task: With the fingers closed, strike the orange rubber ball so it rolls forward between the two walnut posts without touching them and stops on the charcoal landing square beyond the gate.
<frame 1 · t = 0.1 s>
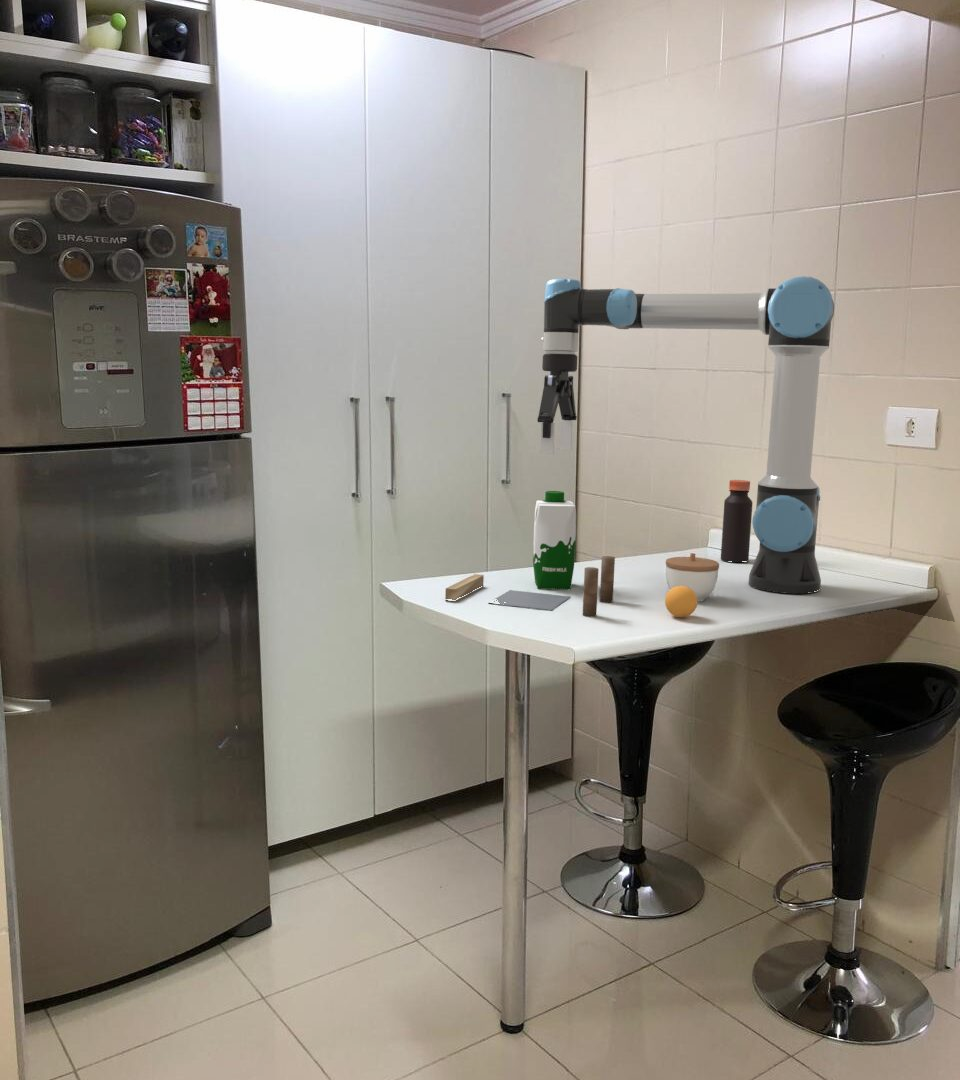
hand: (556, 451, 223), 28 cm above the table, tool pointing down, fingers open, 13 cm apart
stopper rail: (464, 593, 209), on the table
ball: (681, 601, 193), on the table
post 1: (589, 615, 193), on the table
lidded jar: (690, 599, 210), on the table
bottle: (734, 561, 253), on the table
post 2: (606, 601, 205), on the table
milk carton: (552, 586, 218), on the table
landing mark: (529, 600, 204), on the table
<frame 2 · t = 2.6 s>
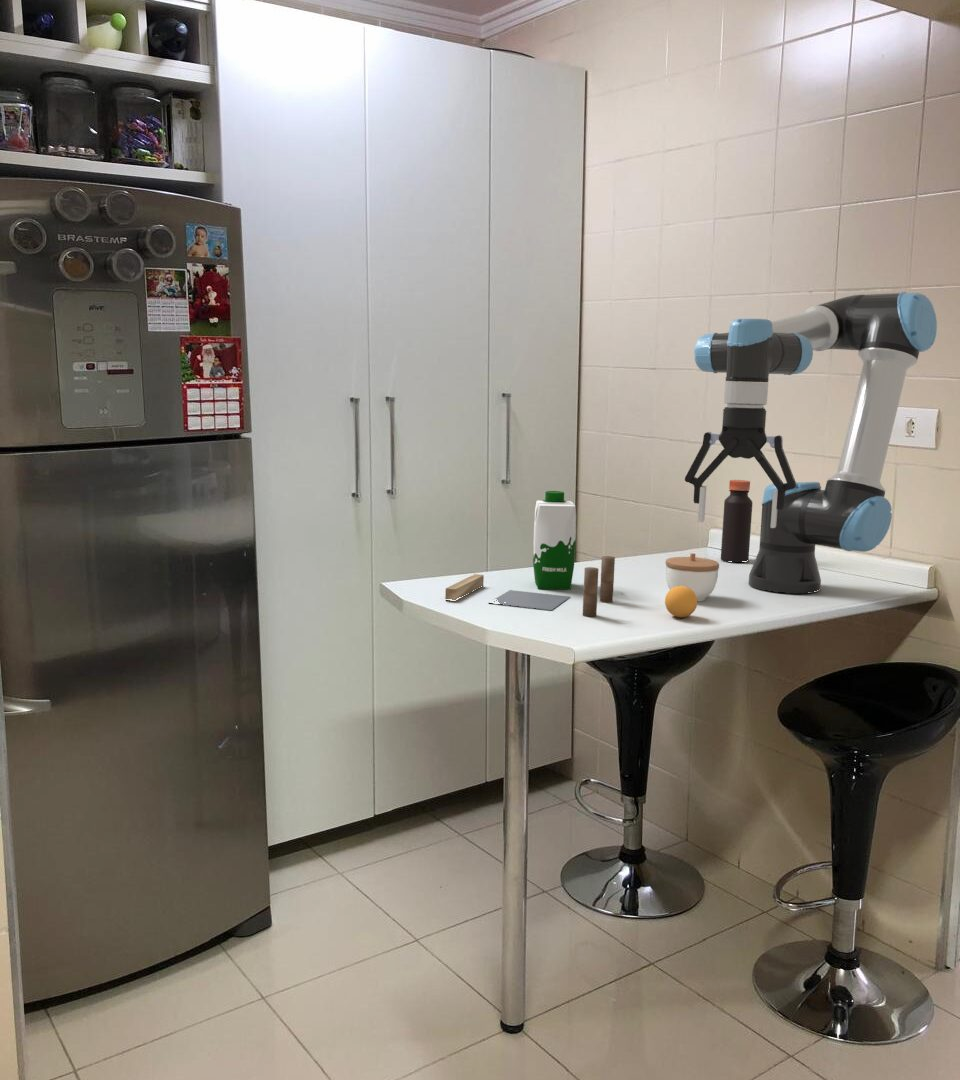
hand: (736, 524, 187), 19 cm above the table, tool pointing down, fingers open, 12 cm apart
nothing on the table moved.
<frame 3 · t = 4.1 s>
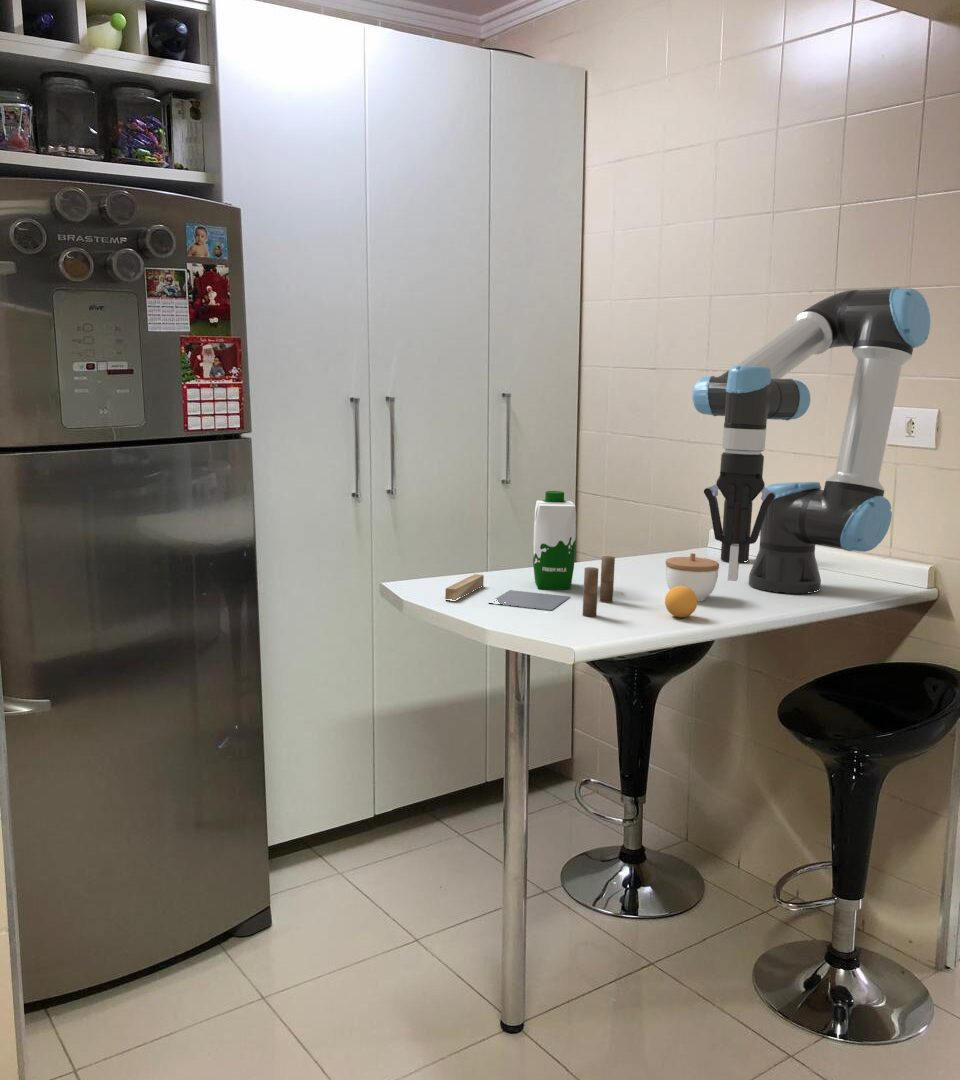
hand: (732, 579, 188), 8 cm above the table, tool pointing down, fingers closed
nothing on the table moved.
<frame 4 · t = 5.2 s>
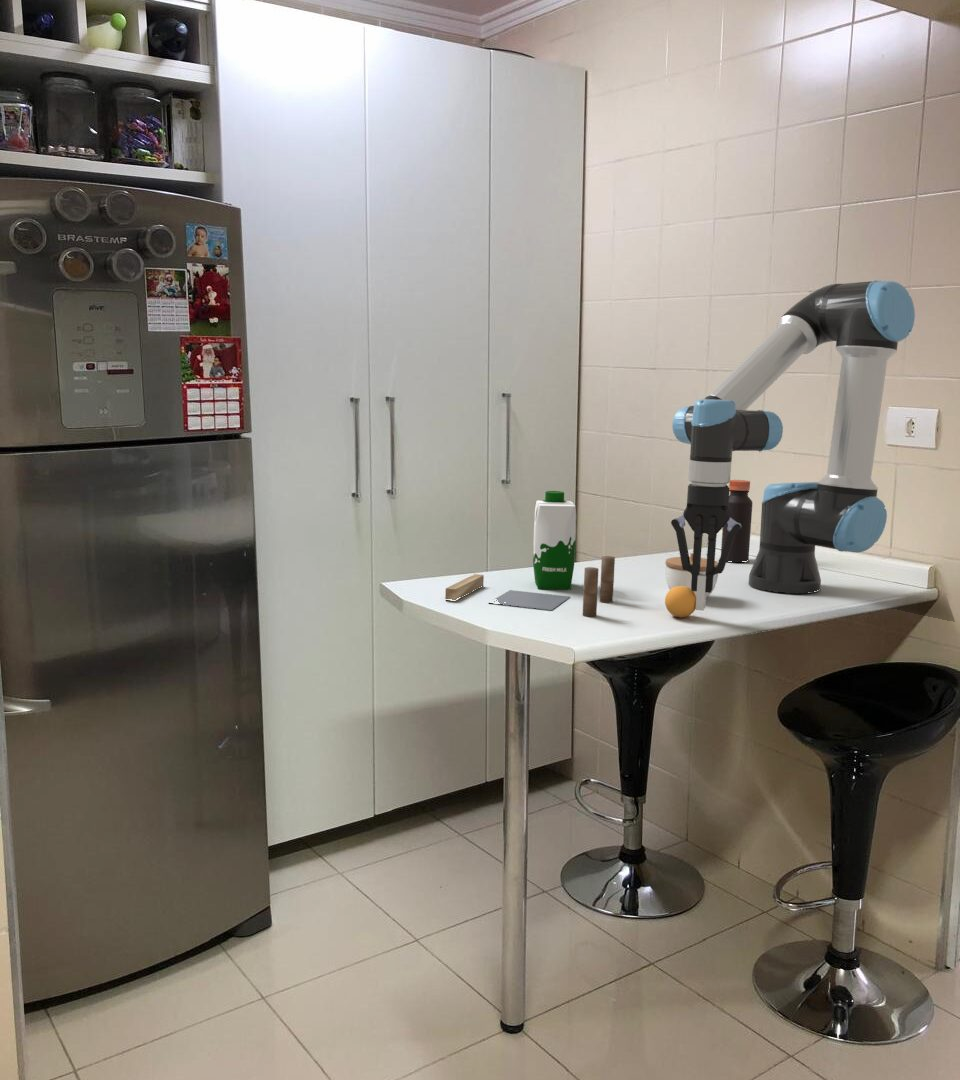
hand: (700, 608, 191), 2 cm above the table, tool pointing down, fingers closed
ball: (681, 601, 193), on the table, touching gripper
everything else where it was.
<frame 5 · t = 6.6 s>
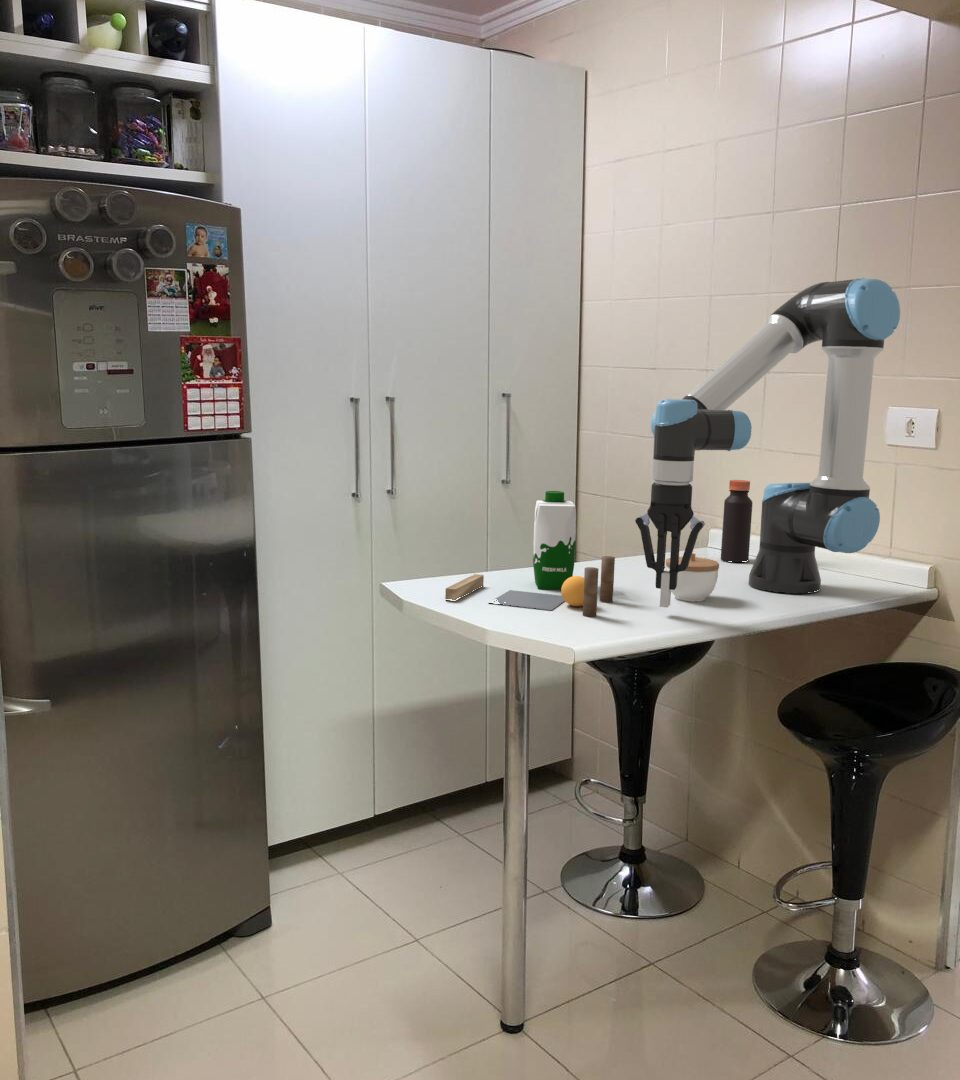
hand: (665, 605, 194), 2 cm above the table, tool pointing down, fingers closed
ball: (576, 591, 199), on the table
everything else where it was.
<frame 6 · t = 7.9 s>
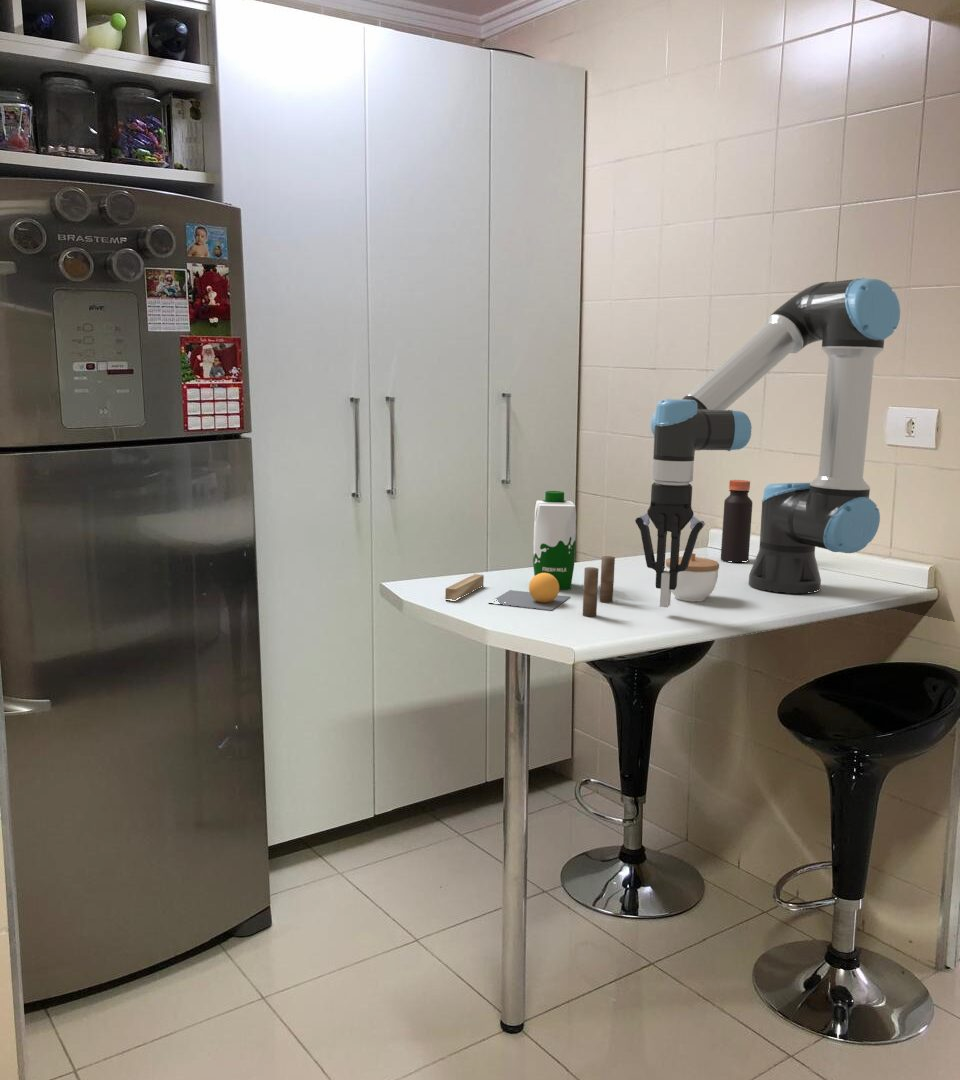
hand: (665, 605, 194), 2 cm above the table, tool pointing down, fingers closed
ball: (544, 587, 202), on the table
everything else where it was.
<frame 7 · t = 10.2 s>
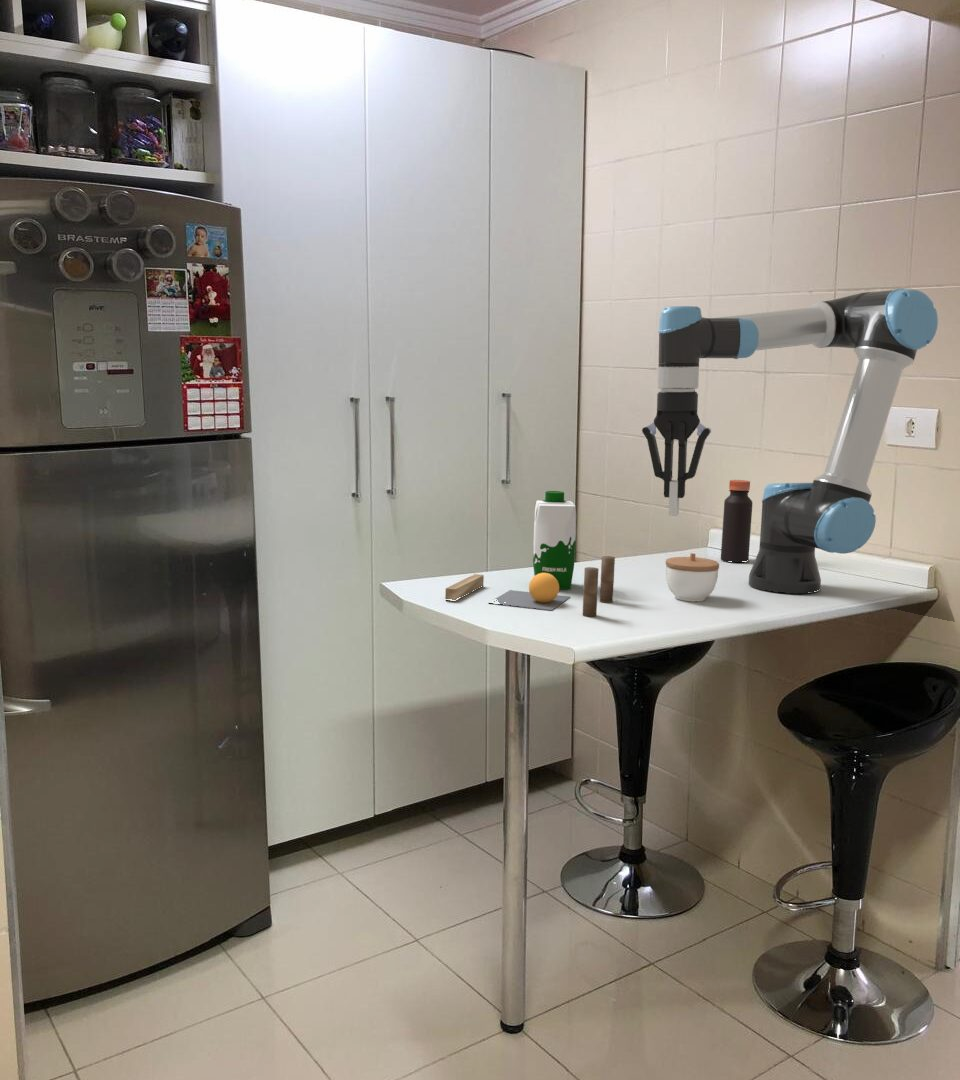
hand: (673, 514, 195), 19 cm above the table, tool pointing down, fingers closed
nothing on the table moved.
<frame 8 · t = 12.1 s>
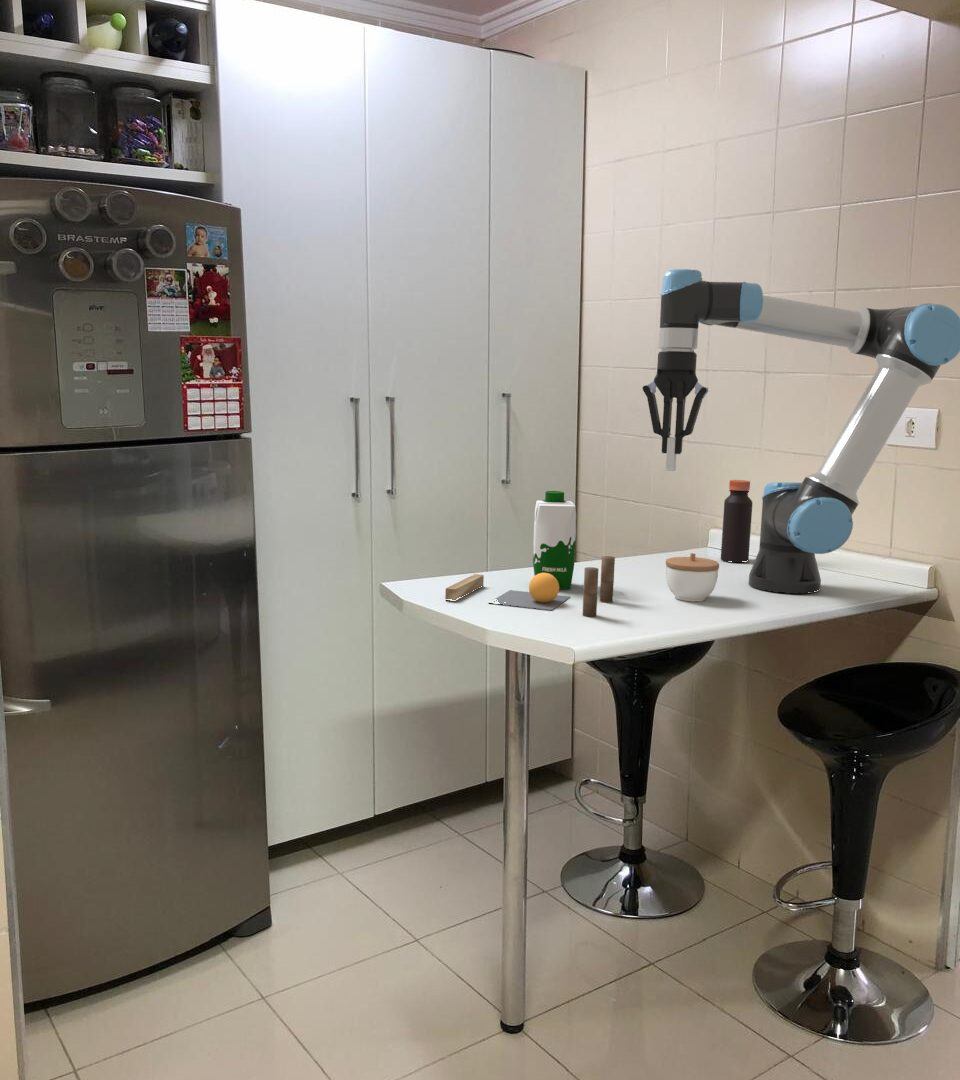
hand: (670, 470, 204), 26 cm above the table, tool pointing down, fingers closed
nothing on the table moved.
at the end: ball 3.0 cm from the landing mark (horizontally); ball never touched post 2; ball never touched post 1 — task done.
